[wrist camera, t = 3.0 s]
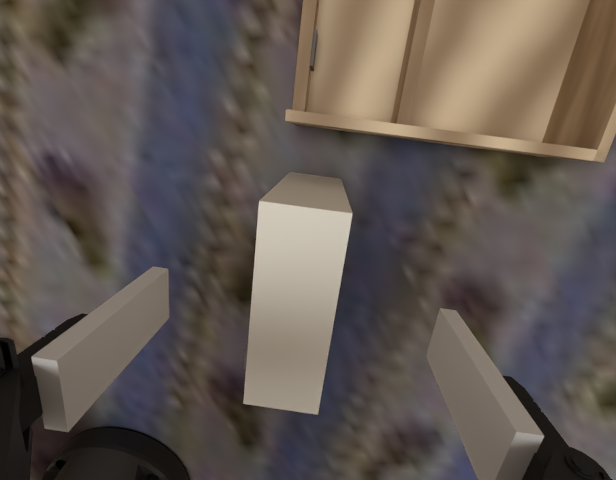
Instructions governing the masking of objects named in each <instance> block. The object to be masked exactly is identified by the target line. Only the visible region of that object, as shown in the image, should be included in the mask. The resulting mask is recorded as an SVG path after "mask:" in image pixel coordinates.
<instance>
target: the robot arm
mask: <svg viewBox="0 0 616 480" xmlns="http://www.w3.org/2000/svg"><path fill="white" fill-rule="evenodd" d="M168 319H169V277H168V269H166V268H159V267H152V268H150V269H149V270H148V271H146V272H145V273H144V274H142V275H141V276H139V277H138V278H137V279H135V280H134V281H133V282H131V283H130V284H129V285H127V286H126V287H125V288H123V289H122V290H121V291H119V292H118V293H117V294H115V295H114V296H113V297H111V298H110V299H108V300H107V301H106V302H104V303H103V304H102V305H100V306H99V307H98V308H96V309H95V310H94V311H92V312H91V313H90V314H80V315H78V316H75V317H73V318H71V319H68V320H66V321H65V322H64V323H62V324H61V325H59V326H58V327H56V328H55V330H52V331H51V332H49V333H48V334H46V335H45V337H42V338H41V339H39V340H38V341H37V342H35V343H34V344H32V345H31V346H29V347H28V348H27V349H25V350H24V351H22V352H21V353H19V354H18V355H17V353H16V349H15V344H14V341H13V340H11V339H9V338H0V480H30V465H31V450H32V434H33V432H32V427H31V424H32V423H33V422H34V421H35V420H37V419H38V418H39V417H40V416H41V415H42V417H43V423H44V428H45V429H50V430H57V431H63V432H69V431H70V430H71V428H72V427H73V426H74V425H75V424H76V423H77V422H78V421H79V419H80V418H81V417H82V416H83V415H84V414H85V413H86V412H87V410H88V409H89V408H90V407H91V406H92V405H93V404H94V402H95V401H96V400H97V399H98V398H99V397H100V396H101V395H102V393H103V392H104V391H105V390H106V389H107V388H108V387H109V385H110V384H111V383H112V382H113V381H114V380H115V379H116V378H117V376H118V375H119V374H120V373H121V372H122V371H123V370H124V368H125V367H126V366H127V365H128V364H129V363H130V362H131V361H132V359H133V358H134V357H135V356H136V355H137V354H138V353H139V352H140V350H141V349H142V348H143V347H144V346H145V345H146V344H147V342H148V341H149V340H150V339H151V338H152V337H153V336H154V335H155V333H156V332H157V331H158V330H159V329H160V328H161V327H162V325H163V324H164V323H165V322H166V321H167V320H168ZM426 358H427V360H428V363H429V365H430V367H431V370H432V372H433V374H434V377H435V379H436V381H437V384H438V386H439V389H440V391H441V393H442V396H443V398H444V400H445V403H446V405H447V407H448V410H449V412H450V415H451V417H452V419H453V422H454V424H455V426H456V429H457V431H458V433H459V436H460V438H461V441H462V443H463V445H464V448H465V450H466V452H467V455H468V457H469V459H470V462H471V464H472V467H473V469H474V471H475V474H476V476H477V478H478V480H612V479H611V478H610V477H609V476H608V474H607V473H606V471H605V470H604V469H603V468H602V467H601V466H600V465H599V464H598V463H597V462H596V461H595V460H593V459H592V458H590V457H589V456H587V455H586V454H584V453H583V452H581V451H578V450H576V449H574V448H572V447H569V446H568V445H567V444H566V442H565V441H564V440H563V438H562V437H561V436H560V434H559V433H558V432H557V430H556V429H555V428H554V426H553V425H552V424H551V422H550V421H549V420H548V418H547V417H546V416H545V415H544V413H543V412H541V409H540V408H539V407H538V405H537V404H536V403H535V402H533V399H532V397H531V396H530V395H529V393H528V392H527V391H526V389H525V388H524V387H523V386H521V385H520V384H519V383H518V382H517V381H515V380H514V379H513V378H512V377H508V376H502V375H501V374H500V372H499V371H498V369H497V368H496V366H495V365H494V364H493V362H492V361H491V359H490V358H489V357H488V355H487V354H486V352H485V351H484V349H483V348H482V347H481V345H480V344H479V342H478V341H477V339H476V338H475V337H474V335H473V334H472V332H471V331H470V330H469V328H468V327H467V325H466V324H465V322H464V321H463V320H462V318H461V317H460V315H459V314H458V313H457V311H456V310H449V309H442V308H440V309H439V313H438V316H437V320H436V323H435V326H434V330H433V333H432V337H431V340H430V344H429V347H428V350H427V354H426ZM42 480H189V478H188V475H187V473H186V471H185V469H184V467H183V465H182V464H181V462H180V461H179V460H178V459H177V458H176V456H175V455H174V454H173V453H172V452H170V451H169V450H168V449H167V448H166V447H164V446H163V445H161V444H160V443H158V442H157V441H155V440H153V439H151V438H149V437H147V436H145V435H142V434H139V433H137V432H133V431H129V430H125V429H118V428H98V429H92V430H88V431H85V432H82V433H80V434H78V435H76V436H75V437H73V438H72V439H71V440H69V441H68V442H67V443H66V445H65V446H64V447H63V448H62V449H61V451H60V452H59V453H58V454H57V455H56V456H55V458H54V459H53V460H52V461H51V463H50V464H49V466H48V468H47V469H46V471H45V473H44V476H43V478H42Z"/></svg>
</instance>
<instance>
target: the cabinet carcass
mask: <svg viewBox="0 0 616 480" xmlns="http://www.w3.org/2000/svg"><path fill="white" fill-rule="evenodd" d="M285 121H287V122H290V123H293V124H295V125H303V126H310V127H318V128H325V129H333V130H341V131H348V132H356V133H364V134H371V135H379V136H386V137H394V138H402V139H409V140H417V141H425V142H432V143H440V144H447V145H455V146H463V147H470V148H478V149H486V150H493V151H501V152H508V153H516V154H524V155H531V156H540V157H551V158H562V159H573V160H584V161H595V162H604V161H605V159H606V156H607V154H608V151H609V149H610V146H611V144H612V141H613V139H614V136H615V134H616V0H303V8H302V17H301V27H300V37H299V47H298V57H297V67H296V76H295V86H294V96H293V106H292V110H288V109H286V117H285Z"/></svg>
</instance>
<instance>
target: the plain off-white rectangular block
mask: <svg viewBox="0 0 616 480" xmlns="http://www.w3.org/2000/svg"><path fill="white" fill-rule="evenodd" d="M352 214H353V213H352V210H351V207H350V204H349V201H348V198H347V195H346V192H345V189H344V186H343V183H342V180H341V179H340V178H333V177H325V176H318V175H310V174H303V173H295V172H289V173H288V174H287V175H286V176H285V177H284V178H283V179H282V180H281V181H280V182H279V183H278V184H277V185H276V186H275V187H273V188H272V189H271V190H270V191H269V192H268V193H267V194H266V195H265V196H264V197H263V198H262V199H261V200H260V201H259V209H258V222H257V235H256V247H255V260H254V273H253V286H252V299H251V311H250V324H249V337H248V341H247V345H246V349H245V354H244V361H243V369H244V370H246V375H245V388H244V401H243V404H248V405H255V406H262V407H268V408H275V409H282V410H289V411H296V412H303V413H310V414H316V415H318V411H319V405H320V399H321V394H322V388H323V382H324V376H325V371H326V365H327V359H328V353H329V347H330V342H331V336H332V330H333V324H334V318H335V313H336V307H337V301H338V295H339V289H340V284H341V278H342V272H343V266H344V260H345V255H346V249H347V243H348V237H349V232H350V226H351V220H352Z"/></svg>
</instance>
